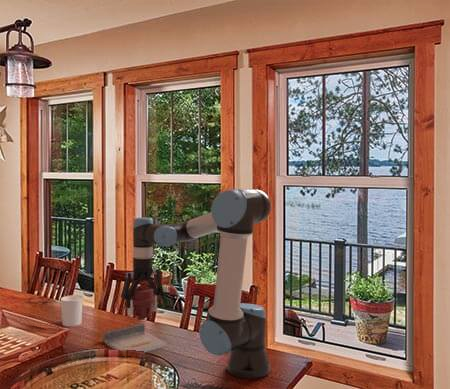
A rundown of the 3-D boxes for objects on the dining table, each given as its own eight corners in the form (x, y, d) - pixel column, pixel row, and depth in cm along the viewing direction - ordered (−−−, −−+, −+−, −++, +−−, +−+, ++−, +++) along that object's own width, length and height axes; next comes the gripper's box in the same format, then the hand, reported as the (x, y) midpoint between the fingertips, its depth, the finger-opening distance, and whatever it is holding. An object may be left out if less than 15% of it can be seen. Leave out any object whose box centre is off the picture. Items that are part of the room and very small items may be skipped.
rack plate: (166, 346, 178) (166, 336, 178) (125, 357, 167) (125, 347, 166) (142, 332, 193) (142, 323, 193) (103, 341, 182) (103, 332, 182)
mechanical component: (158, 314, 178) (149, 322, 168) (135, 312, 180) (125, 320, 170) (159, 284, 178) (149, 290, 168) (135, 282, 180) (125, 288, 170)
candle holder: (83, 325, 201) (83, 299, 201) (60, 328, 198) (60, 301, 197) (82, 319, 211) (82, 294, 210) (60, 321, 207) (60, 296, 207)
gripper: (162, 252, 183) (162, 306, 184) (111, 258, 169) (111, 316, 170) (172, 255, 177) (172, 310, 178) (120, 261, 163) (120, 321, 164)
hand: (142, 313), depth 174 cm, fingers closed on mechanical component, 10 cm apart
